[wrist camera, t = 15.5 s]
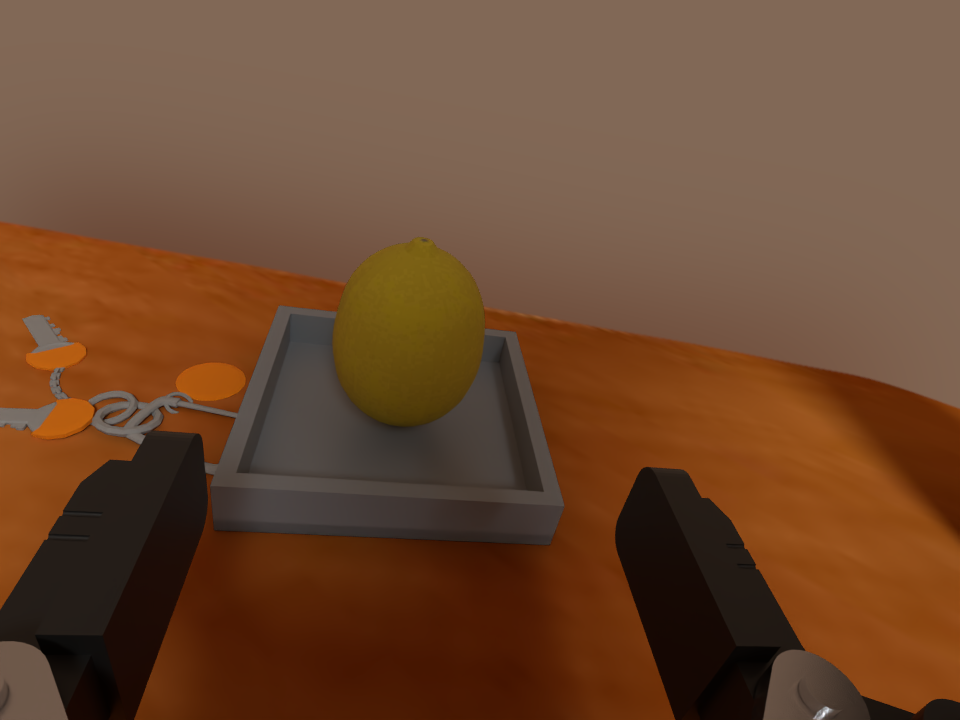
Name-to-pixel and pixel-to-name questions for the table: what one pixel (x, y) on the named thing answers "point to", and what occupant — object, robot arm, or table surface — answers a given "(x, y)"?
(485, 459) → the tray
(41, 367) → the key chain
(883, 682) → the table surface
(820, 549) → the table surface
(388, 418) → the lemon
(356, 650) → the table surface
